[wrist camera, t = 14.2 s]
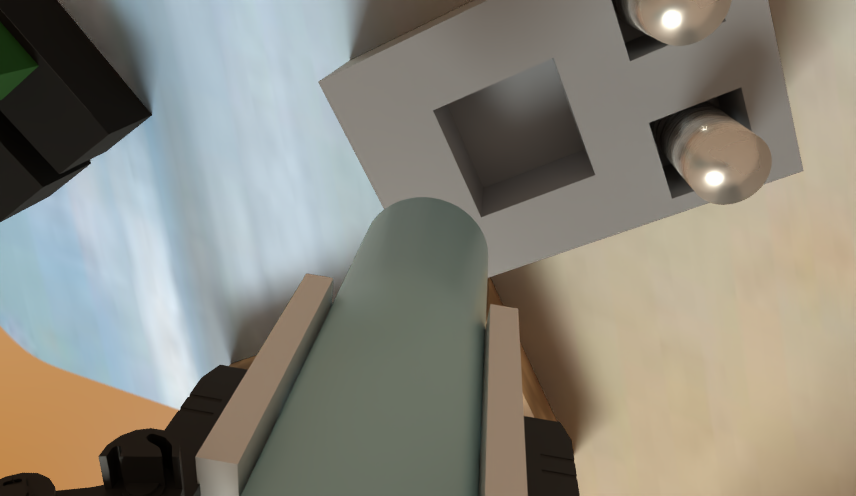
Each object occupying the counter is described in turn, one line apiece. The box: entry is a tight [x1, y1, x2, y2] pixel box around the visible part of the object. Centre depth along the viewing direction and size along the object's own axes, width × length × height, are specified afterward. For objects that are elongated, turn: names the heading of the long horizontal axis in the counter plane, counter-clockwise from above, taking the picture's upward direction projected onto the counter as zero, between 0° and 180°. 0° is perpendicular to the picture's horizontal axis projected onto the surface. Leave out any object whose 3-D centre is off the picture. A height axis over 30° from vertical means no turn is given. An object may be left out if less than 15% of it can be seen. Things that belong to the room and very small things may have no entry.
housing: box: [319, 0, 803, 278], centre depth 28 cm, size 12×18×6 cm, turn 115°
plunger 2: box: [653, 101, 772, 205], centre depth 25 cm, size 3×3×6 cm
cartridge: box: [241, 197, 488, 496], centre depth 15 cm, size 4×4×13 cm
